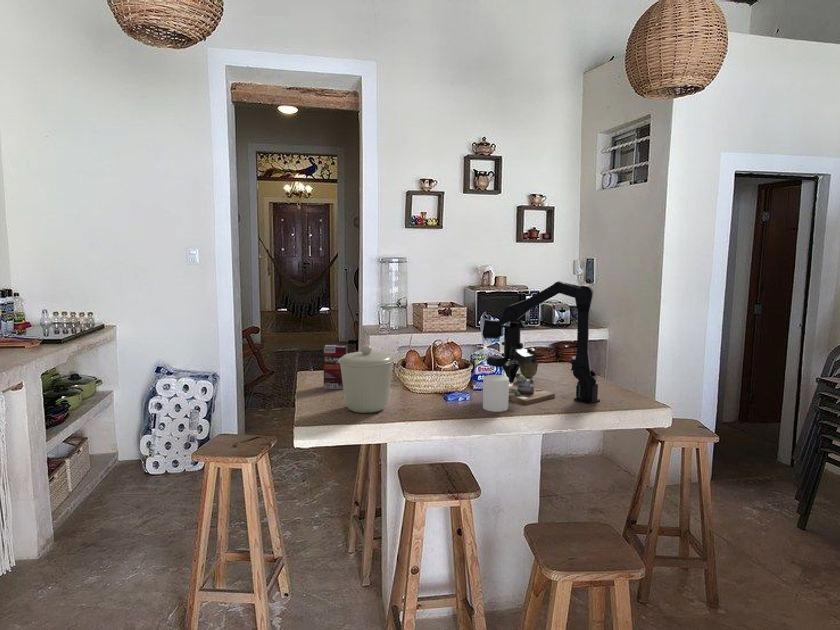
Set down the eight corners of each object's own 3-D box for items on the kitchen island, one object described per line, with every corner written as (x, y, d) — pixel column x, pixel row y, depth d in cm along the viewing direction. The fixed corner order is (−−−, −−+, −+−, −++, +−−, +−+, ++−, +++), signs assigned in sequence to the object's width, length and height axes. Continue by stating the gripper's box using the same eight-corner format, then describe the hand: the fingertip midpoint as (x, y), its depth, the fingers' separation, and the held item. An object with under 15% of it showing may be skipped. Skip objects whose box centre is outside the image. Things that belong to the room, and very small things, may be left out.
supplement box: (323, 389, 204) (322, 347, 202) (325, 386, 208) (324, 344, 207) (346, 389, 204) (346, 346, 202) (348, 385, 209) (347, 344, 207)
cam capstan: (537, 393, 192) (537, 379, 191) (520, 394, 190) (521, 380, 190) (524, 385, 203) (524, 372, 202) (508, 386, 201) (509, 372, 201)
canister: (340, 401, 188) (339, 340, 185) (393, 400, 189) (393, 340, 187) (337, 418, 170) (336, 350, 167) (395, 416, 171) (395, 349, 169)
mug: (487, 381, 175) (477, 372, 186) (486, 412, 176) (476, 402, 188) (512, 380, 176) (500, 371, 188) (511, 411, 177) (500, 401, 189)
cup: (539, 382, 215) (539, 362, 214) (520, 382, 215) (520, 362, 214) (535, 378, 222) (536, 358, 222) (517, 377, 223) (517, 358, 222)
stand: (555, 397, 194) (555, 388, 193) (525, 404, 184) (526, 395, 184) (523, 388, 206) (523, 379, 205) (493, 395, 196) (494, 385, 196)
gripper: (507, 345, 185) (506, 391, 187) (547, 340, 195) (546, 384, 197) (486, 341, 194) (485, 384, 196) (525, 336, 204) (524, 377, 206)
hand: (511, 382), depth 198 cm, fingers closed
